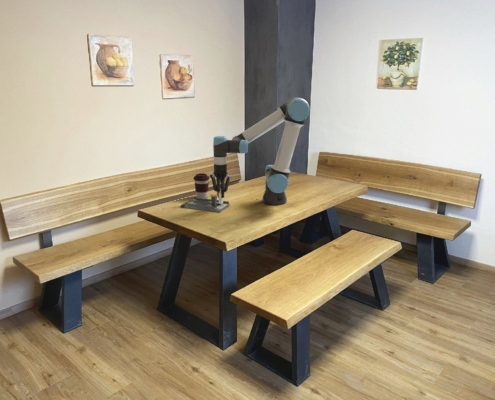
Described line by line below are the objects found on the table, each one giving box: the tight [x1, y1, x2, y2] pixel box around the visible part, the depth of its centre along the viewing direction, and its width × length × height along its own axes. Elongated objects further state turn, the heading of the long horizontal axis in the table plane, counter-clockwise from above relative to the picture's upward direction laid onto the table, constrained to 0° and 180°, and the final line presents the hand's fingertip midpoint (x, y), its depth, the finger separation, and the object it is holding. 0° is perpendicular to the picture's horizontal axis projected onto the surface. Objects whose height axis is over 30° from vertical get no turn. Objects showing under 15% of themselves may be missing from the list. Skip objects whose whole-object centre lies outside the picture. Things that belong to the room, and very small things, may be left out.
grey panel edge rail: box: [180, 198, 194, 209], centre depth 253 cm, size 2×14×2 cm, turn 158°
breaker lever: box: [210, 192, 218, 206], centre depth 246 cm, size 2×4×7 cm, turn 158°
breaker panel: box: [184, 199, 231, 213], centre depth 249 cm, size 26×13×2 cm, turn 68°
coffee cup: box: [193, 172, 210, 199], centre depth 266 cm, size 10×10×15 cm
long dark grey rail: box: [192, 197, 230, 204], centre depth 258 cm, size 24×3×2 cm, turn 68°
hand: (220, 202), depth 244 cm, fingers closed
